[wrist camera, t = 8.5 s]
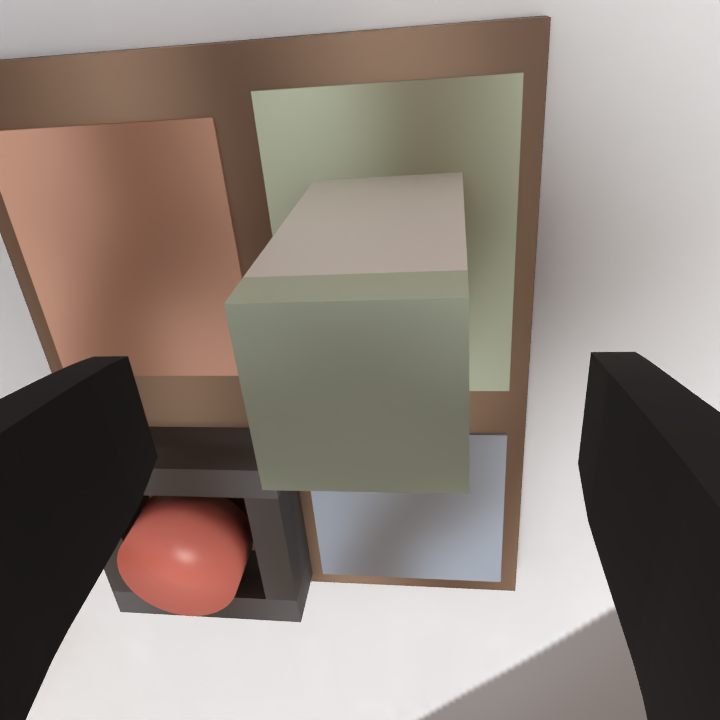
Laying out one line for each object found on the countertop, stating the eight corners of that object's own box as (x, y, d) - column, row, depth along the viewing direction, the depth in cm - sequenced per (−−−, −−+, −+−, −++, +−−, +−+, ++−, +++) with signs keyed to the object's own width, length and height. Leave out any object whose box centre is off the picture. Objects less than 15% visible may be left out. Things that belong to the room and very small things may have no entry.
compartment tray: (136, 551, 24) (98, 618, 22) (-33, 62, 16) (-127, 76, 13) (512, 567, 22) (520, 642, 20) (544, 15, 14) (565, 21, 11)
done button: (157, 567, 21) (134, 612, 20) (129, 484, 19) (102, 526, 18) (261, 572, 21) (246, 619, 19) (243, 487, 19) (225, 530, 17)
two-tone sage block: (329, 312, 17) (261, 490, 11) (313, 180, 15) (223, 303, 9) (462, 309, 16) (469, 493, 10) (462, 172, 15) (469, 297, 9)
